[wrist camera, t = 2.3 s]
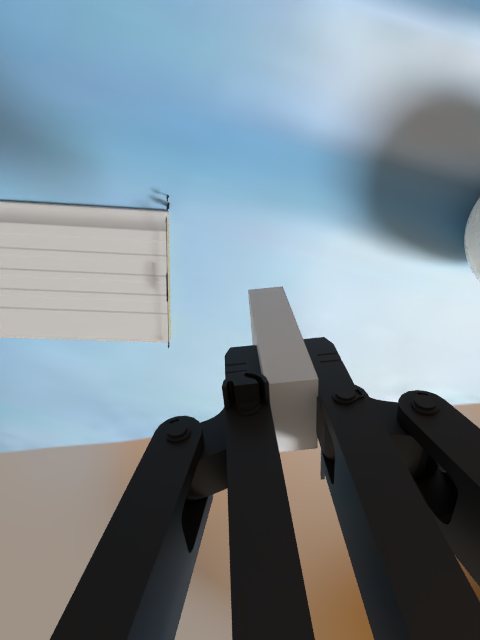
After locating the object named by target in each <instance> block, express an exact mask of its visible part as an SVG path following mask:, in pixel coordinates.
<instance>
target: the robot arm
mask: <svg viewBox="0 0 480 640" xmlns="http://www.w3.org/2000/svg"><path fill="white" fill-rule="evenodd" d="M248 293H249V305H250V317H251V329H252V341H253V345H252V346H242V347H232V348H230V349H229V350H228V352H227V353H226V355H225V380H224V381H223V385H222V391H223V398H224V406H225V407H224V409H223V410H222V411H221V412H220V413H219V414H218V415H216V416H215V417H213V418H211V419H209V420H207V421H204V422H201V423H199V421H197V420H196V419H195V418H193V417H188V416H176V417H174V418H171V419H168V420H166V421H165V422H163V423H162V424H161V425H160V426H159V427H158V428H157V430H156V431H155V433H154V435H153V437H152V439H151V441H150V443H149V445H148V447H147V449H146V451H145V453H144V455H143V457H142V459H141V461H140V463H139V465H138V467H137V468H136V471H135V473H134V474H133V476H132V478H131V480H130V482H129V484H128V486H127V488H126V490H125V492H124V494H123V496H122V498H121V500H120V502H119V504H118V506H117V508H116V510H115V512H114V514H113V516H112V518H111V520H110V522H109V524H108V526H107V528H106V530H105V532H104V534H103V536H102V538H101V539H100V541H99V543H98V545H97V547H96V549H95V551H94V554H93V556H92V557H91V559H90V561H89V563H88V565H87V567H86V569H85V571H84V573H83V575H82V577H81V579H80V581H79V583H78V585H77V587H76V589H75V591H74V593H73V595H72V597H71V599H70V601H69V603H68V605H67V607H66V609H65V611H64V613H63V615H62V616H61V619H60V620H59V622H58V625H57V626H56V628H55V630H54V633H53V634H52V636H51V638H50V640H174V639H175V635H176V631H177V628H178V624H179V620H180V617H181V613H182V609H183V605H184V602H185V598H186V594H187V591H188V587H189V584H190V580H191V576H192V573H193V569H194V565H195V562H196V558H197V554H198V551H199V547H200V543H201V540H202V536H203V532H204V529H205V525H206V521H207V518H208V514H209V511H210V507H211V503H212V500H213V494H215V493H217V492H219V491H222V490H224V489H226V488H228V514H229V515H228V516H229V546H230V576H231V605H232V606H231V608H232V638H233V640H315V638H314V633H313V628H312V622H311V617H310V612H309V606H308V601H307V596H306V591H305V585H304V580H303V575H302V569H301V565H300V559H299V554H298V548H297V543H296V538H295V533H294V528H293V522H292V517H291V512H290V507H289V501H288V496H287V490H286V486H285V480H284V475H283V469H282V464H281V459H280V454H279V452H286V451H296V450H305V449H314V448H317V438H318V440H319V443H320V446H321V479H325V476H326V480H327V483H328V486H329V490H330V492H331V496H332V499H333V503H334V506H335V509H336V513H337V516H338V520H339V523H340V526H341V530H342V533H343V536H344V540H345V543H346V546H347V550H348V553H349V557H350V560H351V563H352V567H353V570H354V573H355V577H356V580H357V583H358V587H359V590H360V593H361V597H362V600H363V603H364V607H365V610H366V614H367V616H368V620H369V624H370V627H371V630H372V634H373V637H374V640H480V602H479V600H478V598H477V596H476V594H475V592H474V591H473V589H472V587H471V585H470V583H469V581H468V579H467V578H466V576H465V574H464V572H463V570H462V568H461V567H460V565H459V563H458V561H457V559H458V560H459V561H460V562H461V564H462V565H463V566H464V567H465V569H466V570H467V571H468V572H469V573H470V575H471V576H472V577H473V579H474V580H475V581H476V582H477V584H478V585H479V586H480V429H479V428H478V427H477V426H476V425H475V424H473V423H472V422H471V421H470V420H469V419H467V418H466V417H465V416H464V415H462V414H461V413H460V412H459V411H458V410H456V409H455V408H454V407H453V406H452V405H450V404H449V403H448V402H447V401H446V400H444V399H443V398H441V397H439V396H438V395H436V394H433V393H430V392H427V391H419V390H416V391H408V392H406V393H404V394H402V395H401V397H400V398H399V401H398V403H397V402H389V401H381V400H376V399H373V398H370V397H369V396H368V394H367V393H366V392H365V391H364V389H362V388H360V387H359V386H357V385H354V383H353V381H352V379H351V377H350V375H349V373H348V371H347V369H346V367H345V366H344V364H343V362H342V361H341V358H340V356H339V354H338V352H337V350H336V348H335V346H334V344H333V343H331V342H330V341H329V340H327V339H326V338H325V337H320V338H311V339H303V338H302V335H301V333H300V330H299V328H298V325H297V322H296V320H295V317H294V315H293V312H292V309H291V307H290V304H289V302H288V299H287V297H286V294H285V291H284V289H283V287H273V288H263V289H253V290H248ZM455 556H456V557H457V559H456V557H455Z"/></svg>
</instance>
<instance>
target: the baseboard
mask: <svg viewBox="0 0 480 640" xmlns="http://www.w3.org/2000/svg"><path fill="white" fill-rule="evenodd" d="M168 197H169V196H168V195H167V201H168ZM168 208H169V203H168V205H167V211H164V210H147V209H130V208H114V207H97V206H80V205H64V204H47V203H30V202H14V201H0V337H1V338H33V339H66V340H98V341H130V342H163V343H168V348H169V343H170V337H171V329H170V269H169V211H168Z"/></svg>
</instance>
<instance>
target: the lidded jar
mask: <svg viewBox="0 0 480 640" xmlns="http://www.w3.org/2000/svg"><path fill="white" fill-rule="evenodd" d="M464 249H465V254H466V258H467V261H468V263H469V266H470V268H471V271H472V272H473V273H474V275H475V276H476V278H477V279H478V280H479V282H480V198H479V199H478V200H477V202H476V204H475V205H474V207H473V209H472V211H471V213H470V215H469V218H468V221H467V224H466V228H465V235H464Z"/></svg>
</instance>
